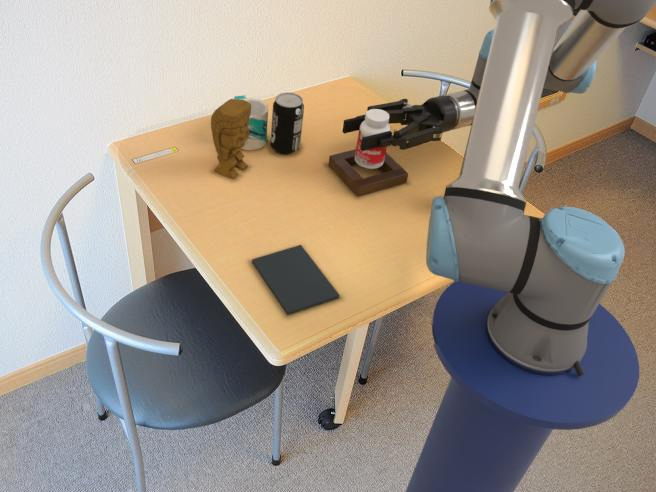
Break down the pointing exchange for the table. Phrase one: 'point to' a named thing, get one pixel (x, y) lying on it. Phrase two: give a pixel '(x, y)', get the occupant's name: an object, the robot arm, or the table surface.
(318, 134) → the table surface
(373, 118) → the pill bottle
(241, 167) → the figurine
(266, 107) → the mug
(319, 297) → the mat
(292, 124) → the beverage can
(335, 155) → the holder
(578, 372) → the robot arm
